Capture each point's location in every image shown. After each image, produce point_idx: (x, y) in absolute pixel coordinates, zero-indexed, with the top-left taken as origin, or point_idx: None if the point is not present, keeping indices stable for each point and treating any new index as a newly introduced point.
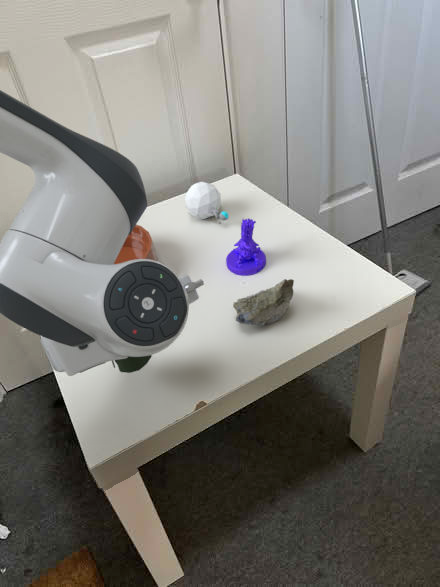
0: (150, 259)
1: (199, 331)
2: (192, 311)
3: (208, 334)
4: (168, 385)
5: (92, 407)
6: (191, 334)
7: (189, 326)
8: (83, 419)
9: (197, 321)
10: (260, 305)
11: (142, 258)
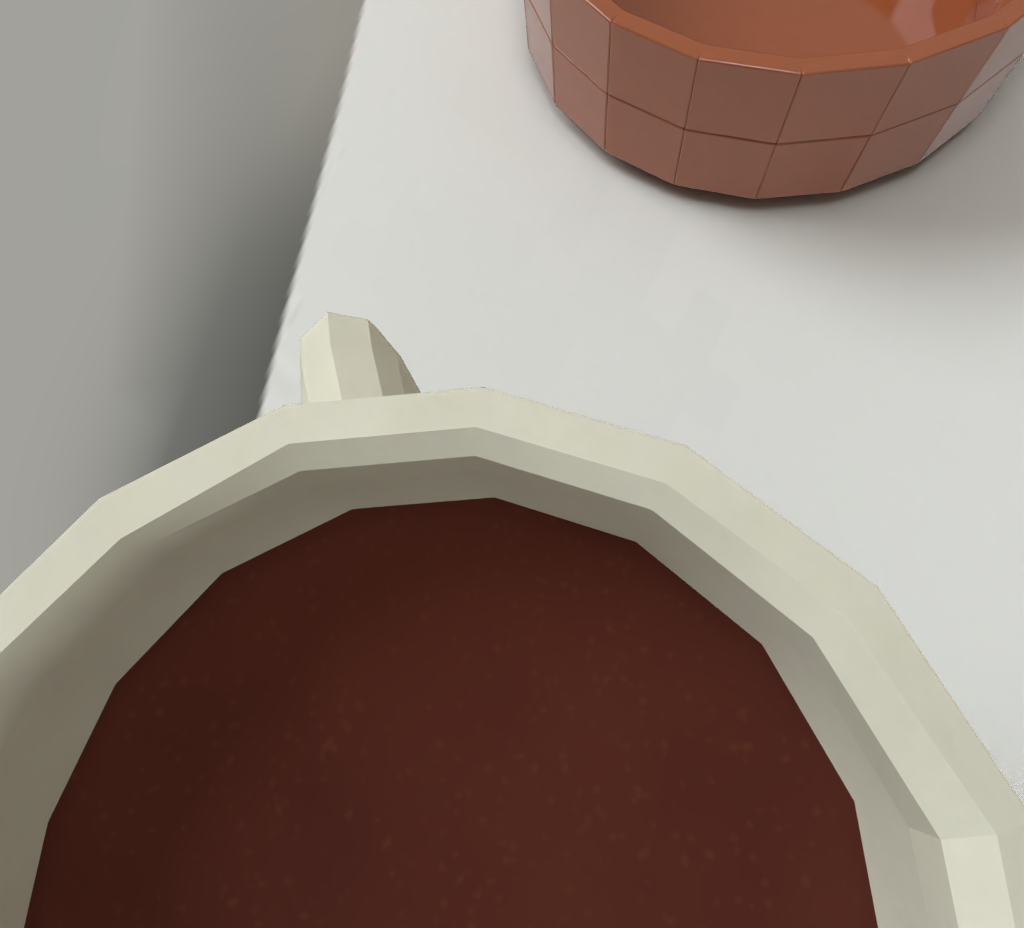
0: (1012, 47)
1: (981, 673)
2: (1014, 509)
3: (1021, 733)
4: None
5: None
6: (927, 659)
7: (945, 598)
8: None
9: (1006, 597)
10: None
11: (986, 20)
